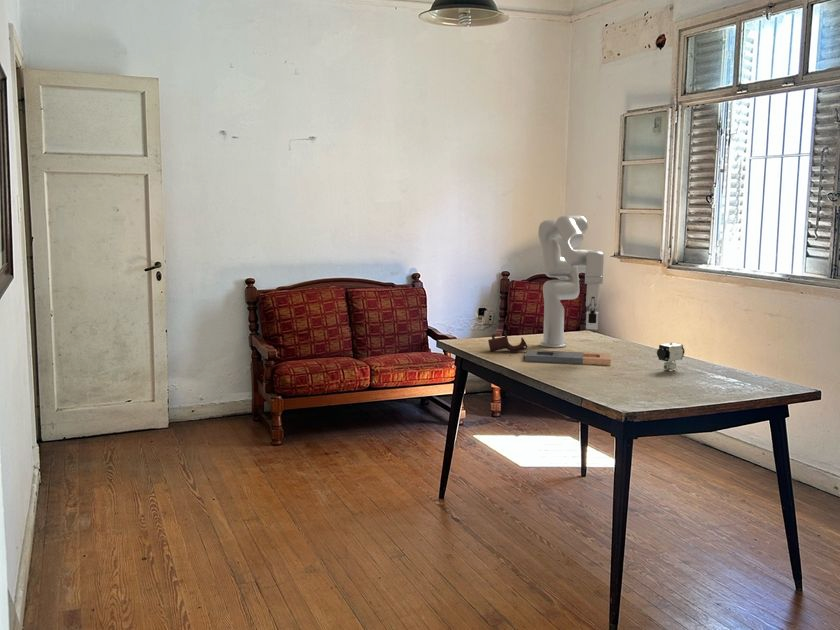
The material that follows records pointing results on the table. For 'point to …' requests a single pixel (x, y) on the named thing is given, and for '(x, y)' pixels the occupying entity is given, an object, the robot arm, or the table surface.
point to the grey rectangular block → (592, 325)
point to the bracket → (505, 344)
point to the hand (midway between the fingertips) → (592, 321)
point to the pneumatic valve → (670, 354)
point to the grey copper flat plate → (568, 357)
